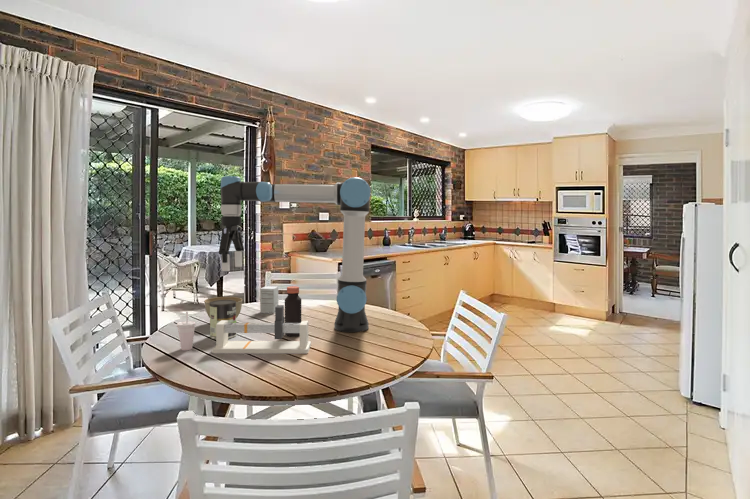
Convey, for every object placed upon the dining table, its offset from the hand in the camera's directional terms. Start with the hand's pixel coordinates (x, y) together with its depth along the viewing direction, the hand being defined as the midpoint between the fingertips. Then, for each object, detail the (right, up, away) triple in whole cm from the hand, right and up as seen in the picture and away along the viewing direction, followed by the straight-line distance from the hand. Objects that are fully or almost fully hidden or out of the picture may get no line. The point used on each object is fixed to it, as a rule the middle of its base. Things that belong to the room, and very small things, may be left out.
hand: (232, 268), depth 172 cm
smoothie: (-12, -29, -14) cm, 35 cm away
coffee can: (-5, -28, +3) cm, 28 cm away
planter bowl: (-11, -26, +23) cm, 36 cm away
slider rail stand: (+16, -29, -13) cm, 36 cm away
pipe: (+16, -23, -14) cm, 31 cm away
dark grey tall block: (+22, -25, -13) cm, 35 cm away
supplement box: (+3, -24, +47) cm, 53 cm away
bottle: (+23, -28, +6) cm, 37 cm away
